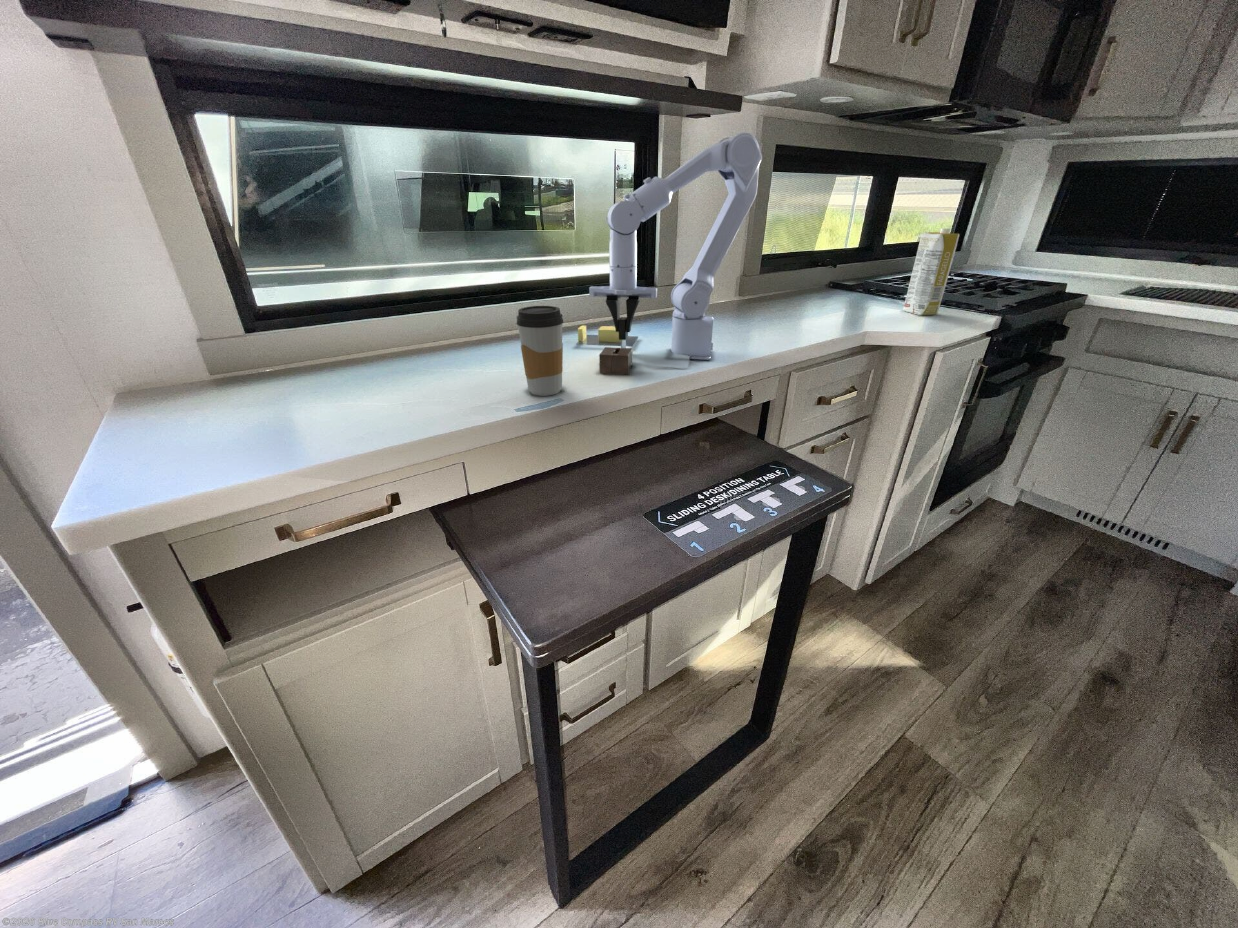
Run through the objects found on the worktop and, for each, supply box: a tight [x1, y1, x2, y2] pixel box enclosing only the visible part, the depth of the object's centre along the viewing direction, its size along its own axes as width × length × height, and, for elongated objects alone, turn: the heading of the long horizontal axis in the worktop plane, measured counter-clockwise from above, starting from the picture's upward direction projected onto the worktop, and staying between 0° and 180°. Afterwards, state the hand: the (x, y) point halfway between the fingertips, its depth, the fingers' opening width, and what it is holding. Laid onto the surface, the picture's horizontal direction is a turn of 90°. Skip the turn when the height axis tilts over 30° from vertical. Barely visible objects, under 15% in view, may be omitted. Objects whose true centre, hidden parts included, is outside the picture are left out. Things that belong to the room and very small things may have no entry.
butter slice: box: [577, 325, 587, 342], centre depth 127 cm, size 1×4×3 cm, turn 170°
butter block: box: [597, 325, 621, 343], centre depth 125 cm, size 6×4×3 cm, turn 80°
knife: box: [618, 316, 629, 348], centre depth 113 cm, size 2×3×9 cm, turn 163°
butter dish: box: [576, 334, 639, 348], centre depth 127 cm, size 14×10×1 cm
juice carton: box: [902, 227, 960, 316], centre depth 153 cm, size 9×8×24 cm
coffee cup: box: [516, 305, 564, 397], centre depth 93 cm, size 8×8×15 cm
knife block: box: [598, 346, 634, 376], centre depth 107 cm, size 6×6×4 cm
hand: (623, 331), depth 112 cm, fingers closed on knife, 2 cm apart
